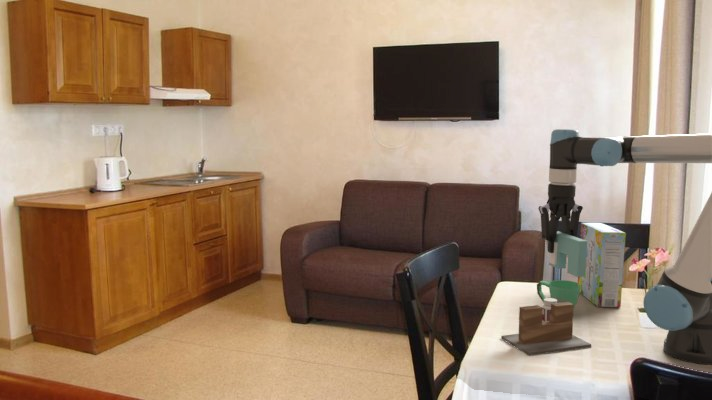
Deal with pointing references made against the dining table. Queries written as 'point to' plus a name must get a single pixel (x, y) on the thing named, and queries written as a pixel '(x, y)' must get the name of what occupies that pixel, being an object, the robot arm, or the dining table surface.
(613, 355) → the dining table surface
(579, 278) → the snack box
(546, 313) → the pill bottle
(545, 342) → the slotted stand
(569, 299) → the mug
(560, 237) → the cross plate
